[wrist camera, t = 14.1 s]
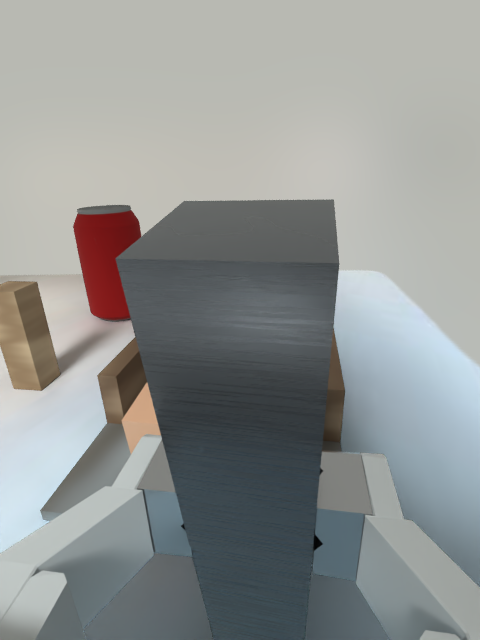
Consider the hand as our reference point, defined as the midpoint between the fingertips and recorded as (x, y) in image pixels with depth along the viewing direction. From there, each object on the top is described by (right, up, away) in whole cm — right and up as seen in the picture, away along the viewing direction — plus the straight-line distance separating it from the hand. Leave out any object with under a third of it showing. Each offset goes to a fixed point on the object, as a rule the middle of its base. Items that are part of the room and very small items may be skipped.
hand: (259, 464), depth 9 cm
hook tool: (-1, -4, +9) cm, 10 cm away
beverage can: (-14, +4, +35) cm, 38 cm away
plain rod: (-17, -2, +21) cm, 27 cm away
